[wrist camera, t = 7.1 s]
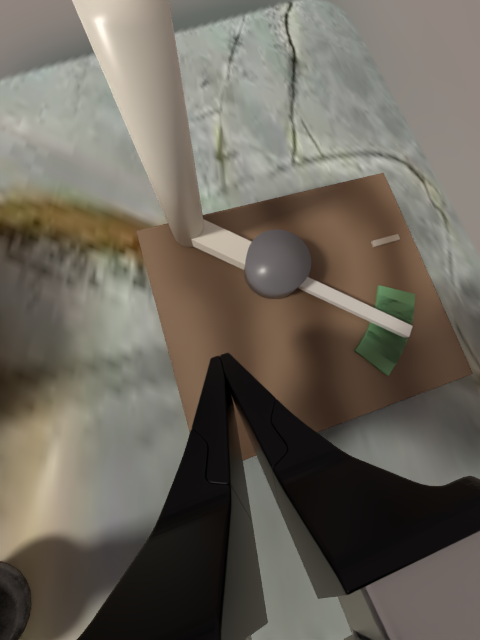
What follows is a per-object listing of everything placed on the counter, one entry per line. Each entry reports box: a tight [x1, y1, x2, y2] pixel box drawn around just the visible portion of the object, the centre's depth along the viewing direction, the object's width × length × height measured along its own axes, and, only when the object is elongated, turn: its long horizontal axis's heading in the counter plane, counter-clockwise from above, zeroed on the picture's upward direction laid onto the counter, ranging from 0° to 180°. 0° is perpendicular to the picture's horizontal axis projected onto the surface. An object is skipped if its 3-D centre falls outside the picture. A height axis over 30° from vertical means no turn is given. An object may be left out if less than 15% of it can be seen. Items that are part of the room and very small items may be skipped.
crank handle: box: [72, 0, 413, 338], centre depth 11 cm, size 19×4×11 cm, turn 65°
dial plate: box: [137, 173, 473, 460], centre depth 17 cm, size 22×18×1 cm
